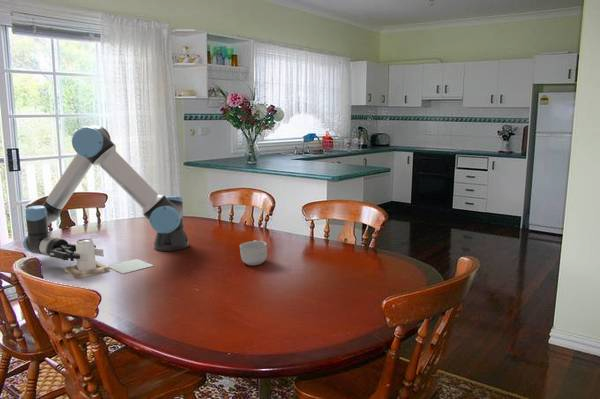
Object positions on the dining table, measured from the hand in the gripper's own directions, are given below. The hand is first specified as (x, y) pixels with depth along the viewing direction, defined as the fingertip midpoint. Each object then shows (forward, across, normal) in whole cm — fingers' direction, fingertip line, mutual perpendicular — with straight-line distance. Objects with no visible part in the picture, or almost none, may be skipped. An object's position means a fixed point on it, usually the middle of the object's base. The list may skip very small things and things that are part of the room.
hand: (94, 255), depth 187 cm
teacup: (+46, -39, -7) cm, 61 cm away
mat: (+5, -12, -7) cm, 15 cm away
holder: (-5, 0, -7) cm, 9 cm away
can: (-5, 0, -7) cm, 9 cm away
